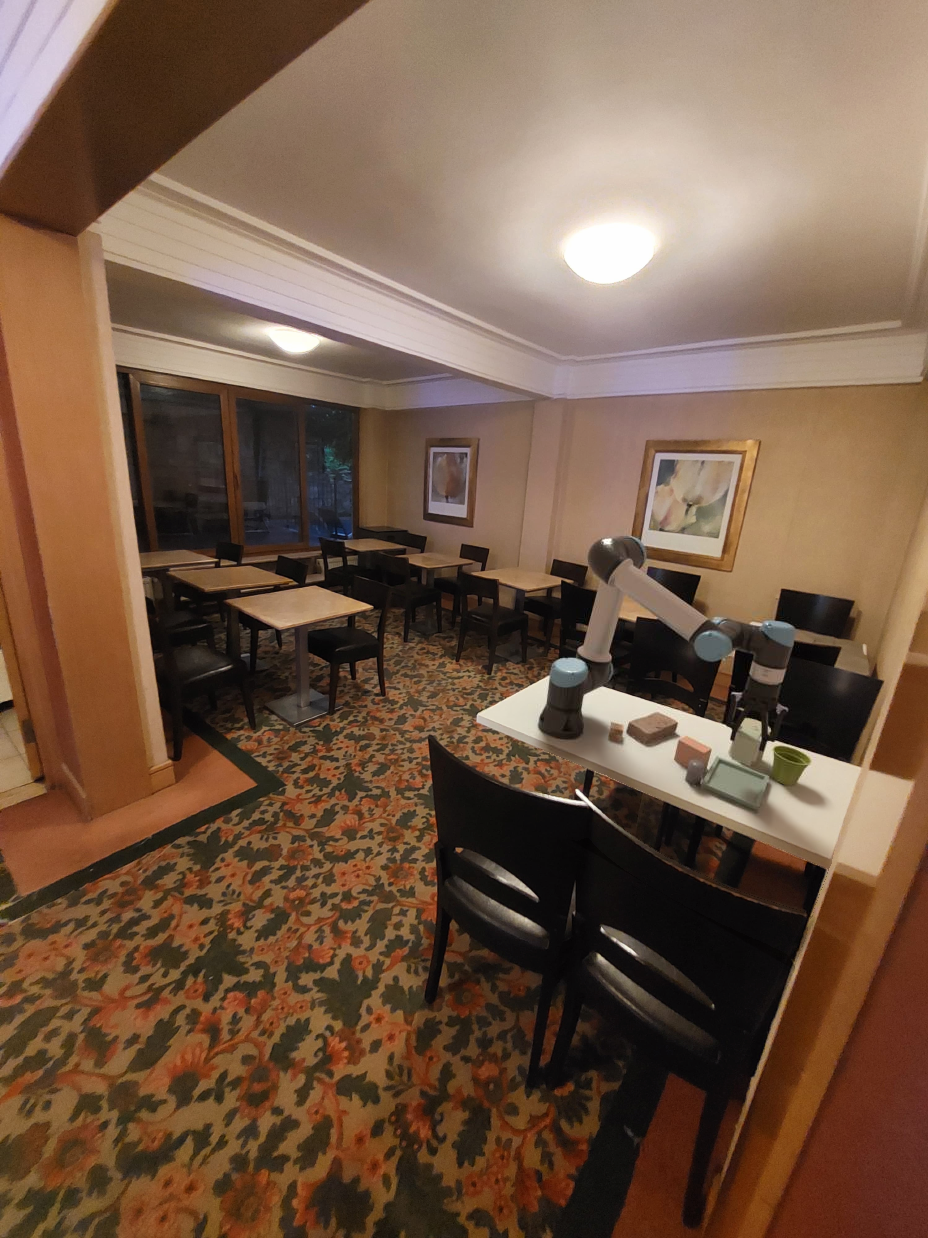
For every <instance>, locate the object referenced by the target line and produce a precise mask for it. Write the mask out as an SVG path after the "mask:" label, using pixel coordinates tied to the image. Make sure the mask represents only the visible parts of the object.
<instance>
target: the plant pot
mask: <svg viewBox="0 0 928 1238" xmlns="http://www.w3.org/2000/svg"><path fill="white" fill-rule="evenodd" d="M772 752H773V761H772V762H773V763H772V769H771V778H772V779H773V780H775V781H776V782H778V783H781V784H783V785H785V786H789V787H794V786H796V784H797V783H798V782H799V779H800V777H802V774H803V773H804V771H805V769H806V768H808V766H809V765H811V763H812V759H811V758H810V756H808V755H807V754H806V753H804V752H803V751H801V750H799V749H796V748H794V747H790V746H787V745H781V744H780V745H779V744H778V745H774V746H773V747H772Z"/></svg>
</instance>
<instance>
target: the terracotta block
mask: <svg viewBox="0 0 928 1238" xmlns="http://www.w3.org/2000/svg"><path fill="white" fill-rule="evenodd" d="M712 750H713V748H712V747H710V746H707V745H706V744H703V743H702V742H700V741H698V740H696V739H695V738H694V739H693V738H691V737H690V736H688V735H685V736H684V737H682V738H680V739H678V741H677V745H676V749H675V753H674V758H673V760H675V761H676V762H678V763H680V764H681V765H683V766H685V767H686V768H688V765H689V761H690V760H698V761H700V762H702V763H703V764H704V765H705V768H704V771H705V770H707V768H708V765H709V762H710V757H711V754H712V752H713V751H712Z"/></svg>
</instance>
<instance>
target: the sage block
mask: <svg viewBox="0 0 928 1238" xmlns="http://www.w3.org/2000/svg"><path fill="white" fill-rule="evenodd" d="M760 735H761V732H760V731H756V730H753V729H750V728H747V727H744V726H743V727H742V729H741V731H740V733H739V735H738V737H737V741H736V744H735V748H734V752H733V756H732V757H731V760H732V761H735V762H738V763H740V762H741V764H744V765H746V766H750V767H751V763H752V759H753V756H754V752H755V749H756V745H757V742H758V739H759V737H760Z"/></svg>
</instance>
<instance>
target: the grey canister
mask: <svg viewBox="0 0 928 1238" xmlns="http://www.w3.org/2000/svg"><path fill="white" fill-rule="evenodd" d="M704 768H705V765H704V764H703V763H702V762H700V761H698V760H690V761H689V765H688V767H687V770H686V774H685V778H684V781H685V782H686V783H687V784H688V785H690V786H693V787H699V786H701V784H702V781H703V774H704V772H705V770H704Z"/></svg>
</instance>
